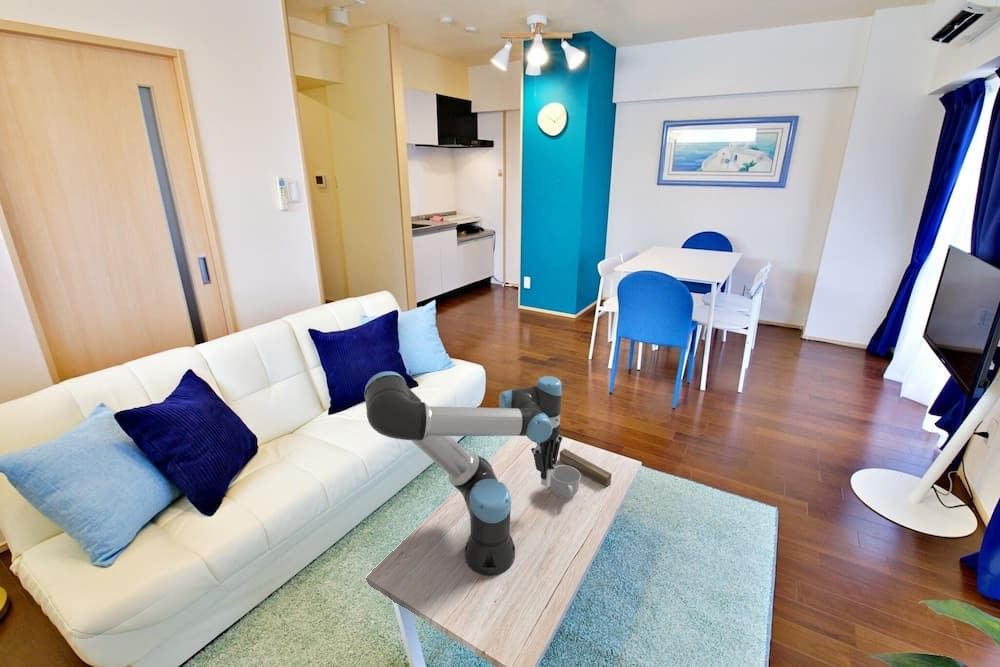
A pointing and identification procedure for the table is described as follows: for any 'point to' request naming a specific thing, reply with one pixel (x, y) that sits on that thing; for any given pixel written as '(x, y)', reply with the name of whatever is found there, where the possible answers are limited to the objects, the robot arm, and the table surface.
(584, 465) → the board
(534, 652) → the table surface
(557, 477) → the teacup
